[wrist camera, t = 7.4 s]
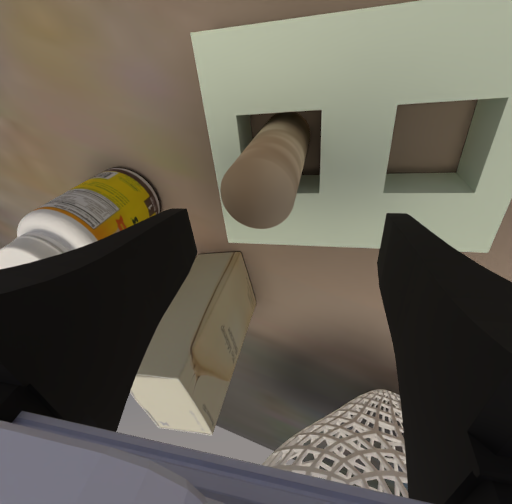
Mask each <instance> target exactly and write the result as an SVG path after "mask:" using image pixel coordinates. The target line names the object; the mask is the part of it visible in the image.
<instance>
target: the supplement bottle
mask: <svg viewBox="0 0 512 504" xmlns="http://www.w3.org/2000/svg"><path fill="white" fill-rule="evenodd" d="M158 213H160V206H159V201H158V198H157V196H156V193H155V192H154V190H153V188H152V187H151V186H150V185H149V183H148V182H147V181H146V180H145V179H143V178H142V177H141V176H139V175H138V174H136V173H134V172H132V171H130V170H127V169H122V168H112V169H108V170H106V171H103V172H101V173H100V174H98V175H96V176H94V177H92V178H91V179H89V180H87V181H85V182H83V183H82V184H80V185H78V186H76V187H74V188H73V189H71V190H69V191H67V192H66V193H64V194H62V195H60V196H58V197H57V198H55V199H53V200H51V201H50V202H48V203H46V204H44V205H42V206H41V207H39V208H37V209H35V210H33V211H32V212H30V213H29V214H27V215H26V216H24V217H23V218H22V220H21V221H20V223H19V225H18V230H17V238H16V239H14V240H13V242H11V243H9V244H8V245H6V246H5V247H3V248H2V249H0V269H5V268H9V267H14V266H18V265H22V264H26V263H30V262H34V261H37V260H41V259H45V258H48V257H52V256H55V255H59V254H62V253H65V252H68V251H71V250H74V249H77V248H80V247H83V246H85V245H88V244H91V243H93V242H96V241H98V240H101V239H103V238H105V237H108V236H110V235H112V234H114V233H117V232H119V231H121V230H124V229H126V228H128V227H130V226H132V225H134V224H137V223H139V222H141V221H143V220H145V219H147V218H149V217H152V216H154V215H156V214H158Z"/></svg>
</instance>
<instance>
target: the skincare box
mask: <svg viewBox="0 0 512 504" xmlns="http://www.w3.org/2000/svg"><path fill="white" fill-rule="evenodd" d="M255 305H256V300H255V297H254V293H253V290H252V286H251V283H250V280H249V276H248V273H247V270H246V267H245V264H244V260H243V257H242V254H241V252H227V253H211V254H199V255H198V256H197V258H196V259H195V261H194V263H193V265H192V267H191V270H190V272H189V274H188V276H187V277H186V279H185V281H184V283H183V284H182V286H181V288H180V289H179V291H178V293H177V294H176V296H175V297H174V299H173V301H172V302H171V304H170V306H169V307H168V309H167V311H166V312H165V314H164V316H163V317H162V319H161V321H160V323H159V325H158V327H157V329H156V331H155V333H154V335H153V337H152V339H151V342H150V344H149V346H148V348H147V350H146V353H145V355H144V358H143V360H142V362H141V365H140V367H139V369H138V372H137V374H136V377H135V380H134V382H133V385H132V388H131V390H130V393H131V394H132V396H133V397H134V399H135V400H136V401H137V403H138V404H139V405H140V406H141V407H142V408H143V409H144V410H145V411H146V413H147V414H148V416H149V417H150V418H151V419H152V420H153V422H154V423H155V424H156V426H157V427H158V428H165V429H171V430H178V431H184V432H191V433H198V434H204V435H210V436H211V435H213V432H214V428H215V425H216V422H217V419H218V416H219V413H220V410H221V407H222V404H223V401H224V398H225V395H226V392H227V389H228V386H229V383H230V380H231V377H232V374H233V371H234V368H235V365H236V362H237V359H238V356H239V353H240V350H241V347H242V344H243V341H244V338H245V335H246V332H247V329H248V326H249V323H250V320H251V317H252V314H253V311H254V308H255Z"/></svg>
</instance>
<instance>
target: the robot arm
mask: <svg viewBox="0 0 512 504" xmlns="http://www.w3.org/2000/svg"><path fill="white" fill-rule="evenodd" d="M196 255H197V248H196V244H195V240H194V236H193V232H192V228H191V224H190V220H189V216H188V212H187V209H169V210H166V211H163V212H161V213H158V214H156V215H154V216H152V217H149V218H147V219H145V220H143V221H141V222H139V223H137V224H134V225H132V226H130V227H128V228H126V229H124V230H121V231H119V232H117V233H114V234H112V235H110V236H108V237H105V238H103V239H101V240H98V241H96V242H93V243H91V244H88V245H85V246H83V247H80V248H77V249H74V250H71V251H68V252H65V253H62V254H59V255H55V256H52V257H48V258H45V259H41V260H37V261H34V262H30V263H26V264H22V265H18V266H14V267H9V268H5V269H0V504H512V282H510V281H508V280H506V279H505V278H503V277H501V276H499V275H497V274H495V273H493V272H492V271H490V270H488V269H486V268H484V267H483V266H481V265H479V264H478V263H476V262H474V261H473V260H471V259H470V258H468V257H467V256H465V255H464V254H462V253H460V252H459V251H457V250H456V249H455V248H453V247H452V246H450V245H449V244H447V243H446V242H445V241H443V240H442V239H441V238H439V237H438V236H436V235H435V234H434V233H433V232H431V231H430V230H429V229H427V228H426V227H425V226H423V225H422V224H421V223H420V222H418V221H417V220H416V219H414V218H413V217H412V216H410V215H409V214H407V213H386V219H385V224H384V230H383V235H382V240H381V246H380V251H379V257H378V262H377V264H378V277H379V287H380V291H381V296H382V300H383V304H384V308H385V313H386V317H387V321H388V325H389V329H390V333H391V337H392V342H393V346H394V352H395V358H396V366H397V374H398V382H399V391H400V401H401V410H402V420H403V431H404V443H405V454H406V468H407V482H408V496H409V498H406V497H401V496H397V495H392V494H388V493H384V492H379V491H375V490H370V489H366V488H361V487H357V486H353V485H348V484H344V483H339V482H335V481H330V480H326V479H322V478H317V477H313V476H308V475H304V474H299V473H295V472H291V471H286V470H282V469H277V468H273V467H269V466H264V465H260V464H255V463H251V462H246V461H241V460H237V459H233V458H229V457H224V456H220V455H215V454H211V453H207V452H202V451H197V450H193V449H188V448H184V447H180V446H175V445H171V444H167V443H162V442H158V441H154V440H149V439H145V438H140V437H136V436H131V435H127V434H122V433H118V432H116V431H117V428H118V425H119V422H120V419H121V416H122V413H123V410H124V407H125V404H126V401H127V398H128V396H129V393H130V390H131V388H132V385H133V382H134V380H135V377H136V374H137V372H138V369H139V367H140V365H141V362H142V360H143V358H144V355H145V353H146V350H147V348H148V346H149V344H150V342H151V339H152V337H153V335H154V333H155V331H156V329H157V327H158V325H159V323H160V321H161V319H162V317H163V316H164V314H165V312H166V311H167V309H168V307H169V306H170V304H171V302H172V301H173V299H174V297H175V296H176V294H177V293H178V291H179V289H180V288H181V286H182V284H183V283H184V281H185V279H186V277H187V276H188V274H189V272H190V270H191V267H192V265H193V263H194V260H195V257H196Z"/></svg>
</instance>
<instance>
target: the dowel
mask: <svg viewBox="0 0 512 504" xmlns="http://www.w3.org/2000/svg"><path fill="white" fill-rule="evenodd" d="M309 142H310V128H309V125H308V123H307V122H306V120H305V119H304V118H303V117H302V116H301V115H299V114H298V113H296V112H281V113H277V114H275V115H273V116H272V117H271V118H270V119H269V120H268V122H267V123H266V124H265V125H264V127H263V128H262V129H261V130H260V131H259V133H258V134H257V135H256V136H255V137H254V139H253V140H252V141H251V142H250V144H249V145H248V146H247V147H246V148H245V150H244V151H243V152H242V153H241V154H240V156H239V157H238V158H237V159H236V160H235V162H234V163H233V164H232V165H231V167H230V168H229V169H228V170H227V172H226V173H225V174H224V177H223V179H222V182H221V187H220V193H221V199H222V202H223V205H224V207H225V209H226V210H227V212H228V213H229V214H230V215H231V216H232V217H233V218H234V219H235V220H236V221H238V222H239V223H241V224H243V225H245V226H247V227H250V228H255V229H267V228H271V227H274V226H277V225H279V224H280V223H282V222H283V221H284V220H285V219H286V218H287V217H288V216H289V215H290V213H291V211H292V209H293V206H294V202H295V198H296V194H297V190H298V186H299V182H300V178H301V174H302V170H303V166H304V162H305V158H306V154H307V150H308V146H309Z"/></svg>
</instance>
